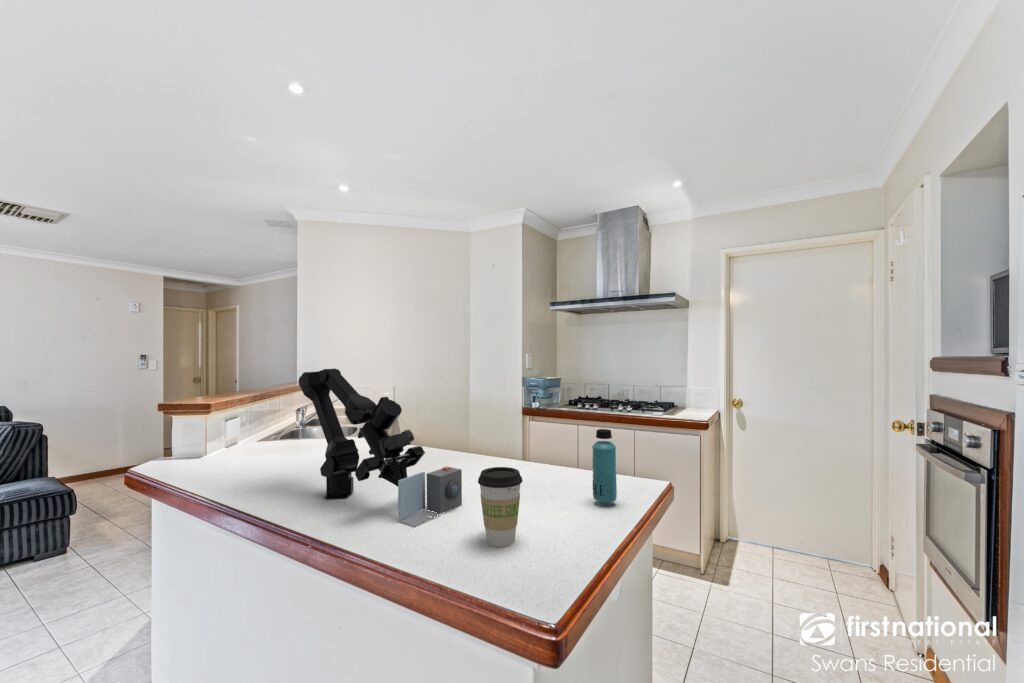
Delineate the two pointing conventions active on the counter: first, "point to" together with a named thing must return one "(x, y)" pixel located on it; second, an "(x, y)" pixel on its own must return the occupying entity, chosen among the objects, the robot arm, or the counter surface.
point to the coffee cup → (500, 504)
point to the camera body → (439, 494)
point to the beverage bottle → (604, 468)
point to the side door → (411, 495)
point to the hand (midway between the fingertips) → (407, 489)
